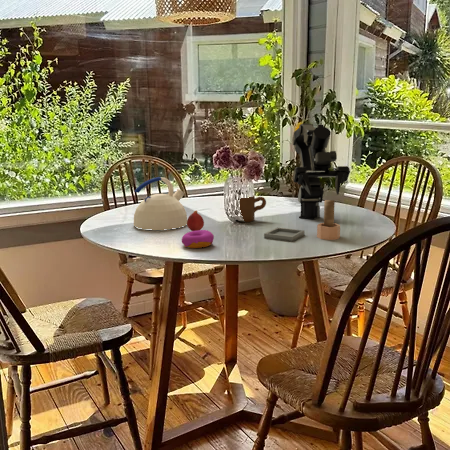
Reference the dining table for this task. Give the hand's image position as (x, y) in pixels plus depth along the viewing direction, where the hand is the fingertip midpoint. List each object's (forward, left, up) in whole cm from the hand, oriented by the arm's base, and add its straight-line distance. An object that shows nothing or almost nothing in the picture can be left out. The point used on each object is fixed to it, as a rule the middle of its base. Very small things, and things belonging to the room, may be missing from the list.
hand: (324, 194), depth 177 cm
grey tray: (-9, -13, -13) cm, 20 cm away
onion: (-39, -21, -14) cm, 46 cm away
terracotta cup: (+4, -7, -13) cm, 16 cm away
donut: (-29, -34, -14) cm, 47 cm away
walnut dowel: (+4, -7, -13) cm, 15 cm away
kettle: (-58, -16, -14) cm, 61 cm away
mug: (-32, +6, -14) cm, 35 cm away
